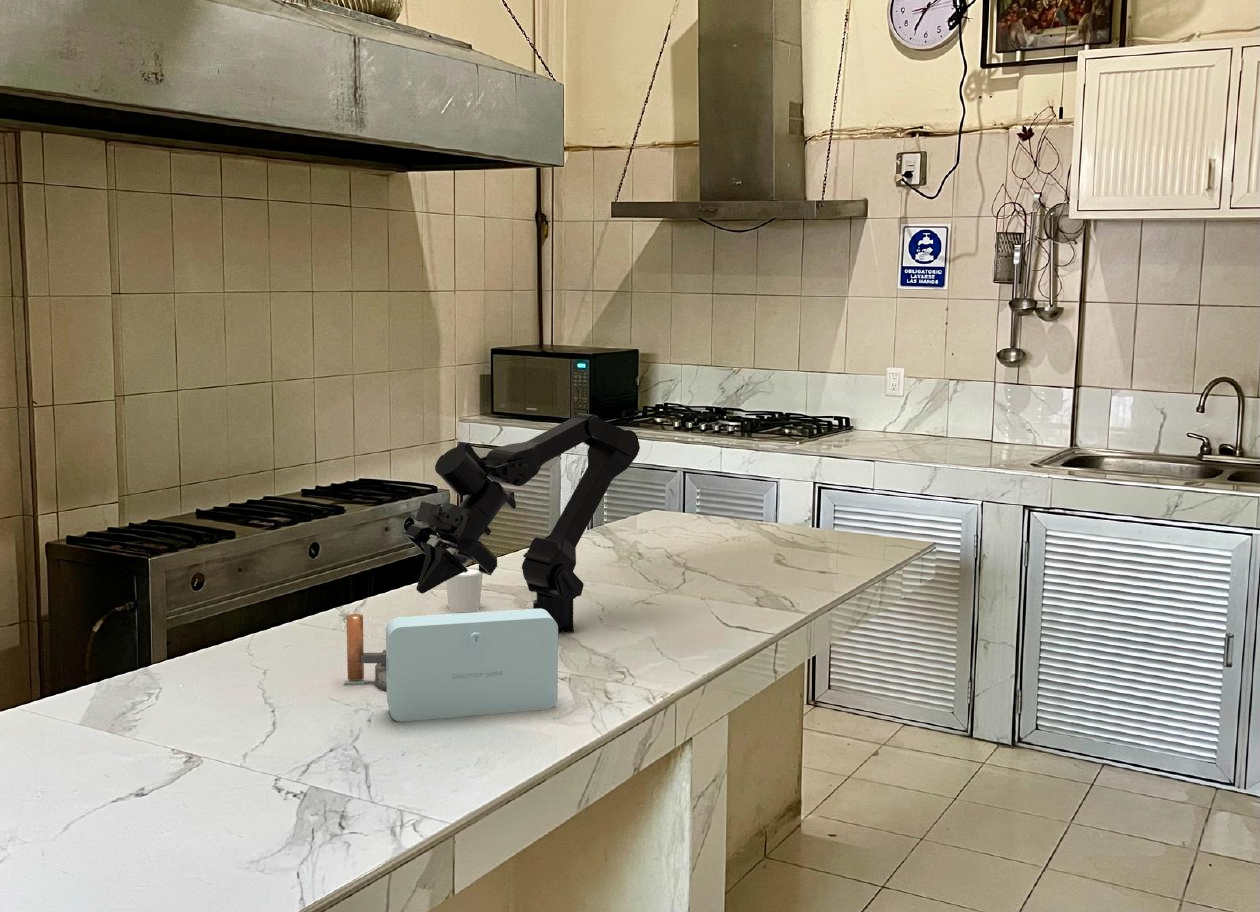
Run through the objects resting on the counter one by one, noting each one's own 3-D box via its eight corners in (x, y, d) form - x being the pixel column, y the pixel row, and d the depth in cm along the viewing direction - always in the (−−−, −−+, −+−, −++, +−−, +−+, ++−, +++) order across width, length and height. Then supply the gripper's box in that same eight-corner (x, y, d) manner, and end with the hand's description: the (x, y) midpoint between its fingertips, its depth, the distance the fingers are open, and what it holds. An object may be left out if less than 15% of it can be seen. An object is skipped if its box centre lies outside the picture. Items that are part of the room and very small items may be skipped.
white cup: (476, 614, 218) (475, 576, 217) (439, 612, 219) (439, 574, 218) (487, 605, 225) (487, 568, 224) (452, 602, 226) (452, 566, 225)
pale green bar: (365, 682, 180) (365, 680, 180) (364, 684, 180) (364, 682, 180) (344, 683, 180) (344, 681, 180) (344, 684, 179) (344, 682, 179)
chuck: (444, 670, 186) (444, 626, 185) (441, 692, 177) (441, 645, 176) (378, 671, 185) (377, 627, 184) (371, 693, 175) (371, 647, 174)
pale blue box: (390, 725, 163) (389, 629, 162) (387, 710, 169) (385, 618, 167) (558, 710, 170) (559, 618, 168) (549, 696, 175) (550, 607, 174)
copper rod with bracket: (394, 675, 182) (393, 614, 181) (391, 680, 180) (390, 618, 178) (349, 675, 182) (348, 613, 181) (346, 680, 180) (344, 618, 178)
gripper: (413, 475, 197) (355, 551, 191) (480, 490, 183) (420, 573, 177) (454, 516, 203) (399, 591, 197) (522, 533, 190) (465, 615, 184)
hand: (419, 591), depth 189 cm, fingers closed
